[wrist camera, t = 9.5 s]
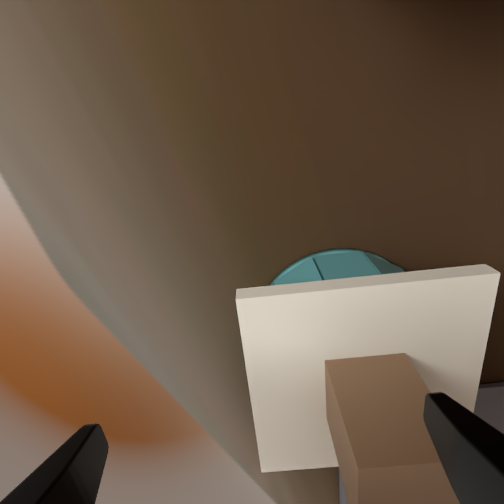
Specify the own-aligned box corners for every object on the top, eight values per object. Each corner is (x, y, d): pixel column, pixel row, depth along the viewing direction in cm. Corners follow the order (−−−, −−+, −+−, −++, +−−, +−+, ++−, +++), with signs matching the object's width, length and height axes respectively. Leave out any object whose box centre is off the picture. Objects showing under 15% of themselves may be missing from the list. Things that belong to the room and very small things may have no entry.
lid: (485, 263, 15) (637, 354, 9) (454, 440, 20) (544, 580, 14) (236, 289, 16) (227, 390, 10) (261, 456, 20) (265, 597, 14)
